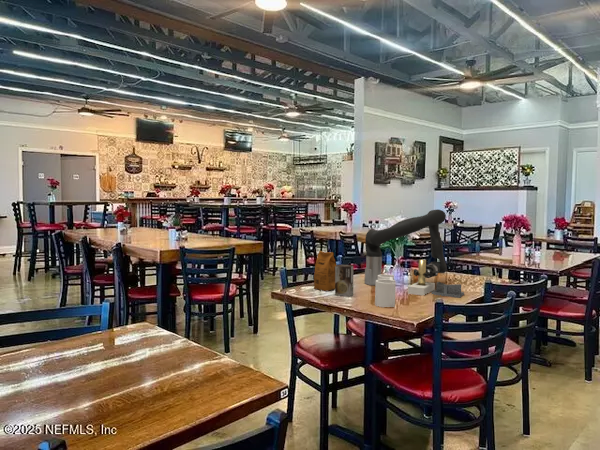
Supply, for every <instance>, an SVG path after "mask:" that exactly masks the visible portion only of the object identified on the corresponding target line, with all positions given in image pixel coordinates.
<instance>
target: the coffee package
mask: <svg viewBox="0 0 600 450" xmlns="http://www.w3.org/2000/svg"><path fill="white" fill-rule="evenodd" d="M334 255H335V253H334V252H332V251H331V252H330V251H329V252H328V251H327V252H325V251H322V250H319V252H318V254H317V257H316V262H315V264H314V273H313V274H314V275H313V280H314V281H313V283H314V284H313V289H314V290H319V291H321V290H322V291H323V292H330V291H331V290H332V291H333V290H335V266H337V265H338V264H337V263H336V262H337V261H336V259H335V257H334Z"/></svg>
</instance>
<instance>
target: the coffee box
mask: <svg viewBox="0 0 600 450" xmlns="http://www.w3.org/2000/svg"><path fill="white" fill-rule="evenodd" d="M336 265H337V266H335V289H334V296H339V295H340V297H342V296H344V297H352V296H353V295H354V264H351V265H350V264H336Z"/></svg>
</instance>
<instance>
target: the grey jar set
mask: <svg viewBox="0 0 600 450" xmlns="http://www.w3.org/2000/svg"><path fill="white" fill-rule="evenodd" d="M396 284H397V283H396V280H395V275H394V274H381V275H378V280H376V283H375V285H374V286H375V289H374V290H375V291H374V296H375V297H374V305H375V306H376V307H378V306H379V308H384V307H395V308H396V287H397V286H396Z"/></svg>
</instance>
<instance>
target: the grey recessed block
mask: <svg viewBox="0 0 600 450" xmlns="http://www.w3.org/2000/svg"><path fill="white" fill-rule="evenodd" d="M434 290H436V283H435V282H432V281H431V282H430V281H425V286H422V285H418V281H417V282H414V283H413V284H411V285H408V286H407V294H410V295H417V296H423V295H424V296H425V294H426V295H427V293H428V294H430V293H432V291H434Z"/></svg>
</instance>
